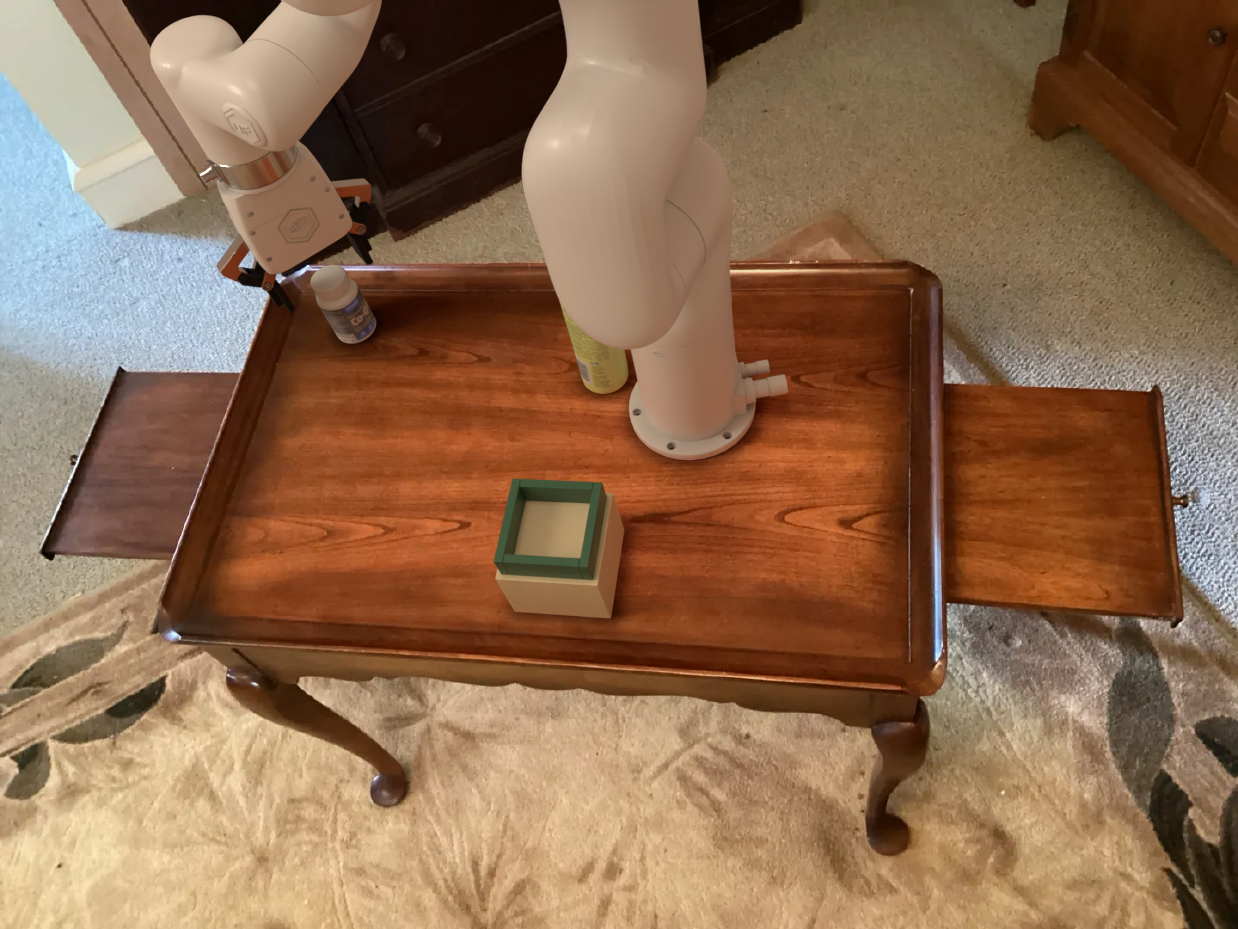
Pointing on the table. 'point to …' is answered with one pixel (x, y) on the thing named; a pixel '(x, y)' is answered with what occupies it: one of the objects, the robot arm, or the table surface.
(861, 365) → the table surface
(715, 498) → the table surface
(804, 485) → the table surface
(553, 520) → the green rimmed box
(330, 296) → the pill bottle
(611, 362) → the tube
